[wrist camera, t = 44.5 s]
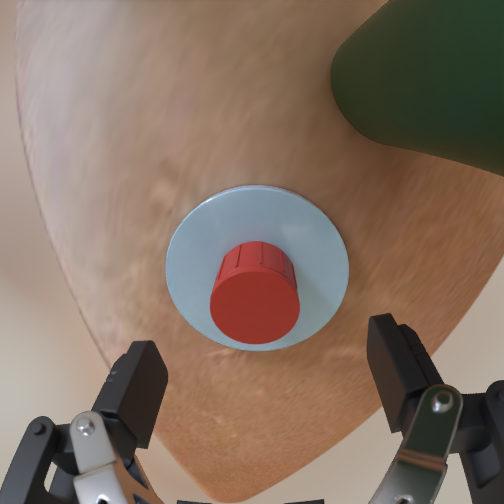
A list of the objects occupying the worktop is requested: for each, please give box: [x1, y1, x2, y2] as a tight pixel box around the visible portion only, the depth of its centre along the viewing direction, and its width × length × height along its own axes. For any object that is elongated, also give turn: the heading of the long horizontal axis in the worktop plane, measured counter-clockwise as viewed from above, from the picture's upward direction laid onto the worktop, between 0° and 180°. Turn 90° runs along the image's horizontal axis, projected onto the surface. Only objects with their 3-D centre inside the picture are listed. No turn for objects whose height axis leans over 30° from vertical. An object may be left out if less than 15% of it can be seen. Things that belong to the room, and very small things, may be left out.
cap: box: [210, 241, 300, 345], centre depth 14 cm, size 4×4×3 cm
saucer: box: [165, 185, 349, 351], centre depth 16 cm, size 10×10×1 cm
